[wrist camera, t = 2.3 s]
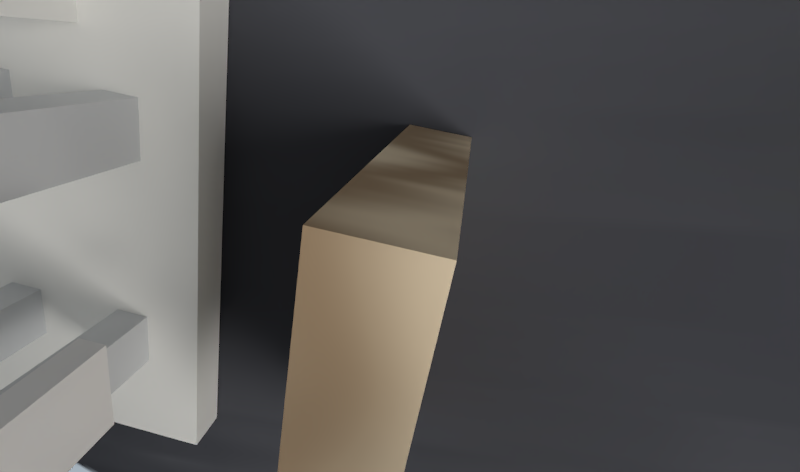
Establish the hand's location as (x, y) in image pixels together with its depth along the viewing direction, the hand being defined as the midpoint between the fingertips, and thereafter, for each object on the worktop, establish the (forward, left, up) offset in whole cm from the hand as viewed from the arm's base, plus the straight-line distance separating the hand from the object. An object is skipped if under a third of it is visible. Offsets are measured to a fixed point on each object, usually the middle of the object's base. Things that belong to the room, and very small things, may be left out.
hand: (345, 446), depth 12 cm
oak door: (0, 0, -10) cm, 10 cm away
